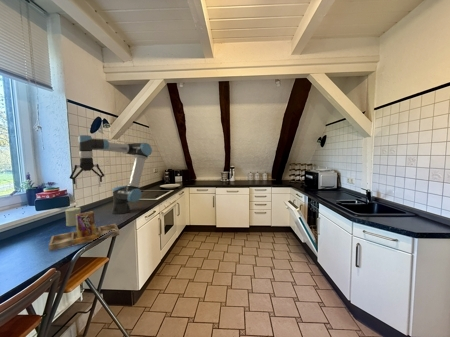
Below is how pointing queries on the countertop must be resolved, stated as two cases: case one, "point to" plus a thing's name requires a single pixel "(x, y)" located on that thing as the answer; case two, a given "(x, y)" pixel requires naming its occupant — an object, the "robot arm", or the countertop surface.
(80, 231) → the candy box
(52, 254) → the countertop surface
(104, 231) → the rack
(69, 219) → the can
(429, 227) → the countertop surface
